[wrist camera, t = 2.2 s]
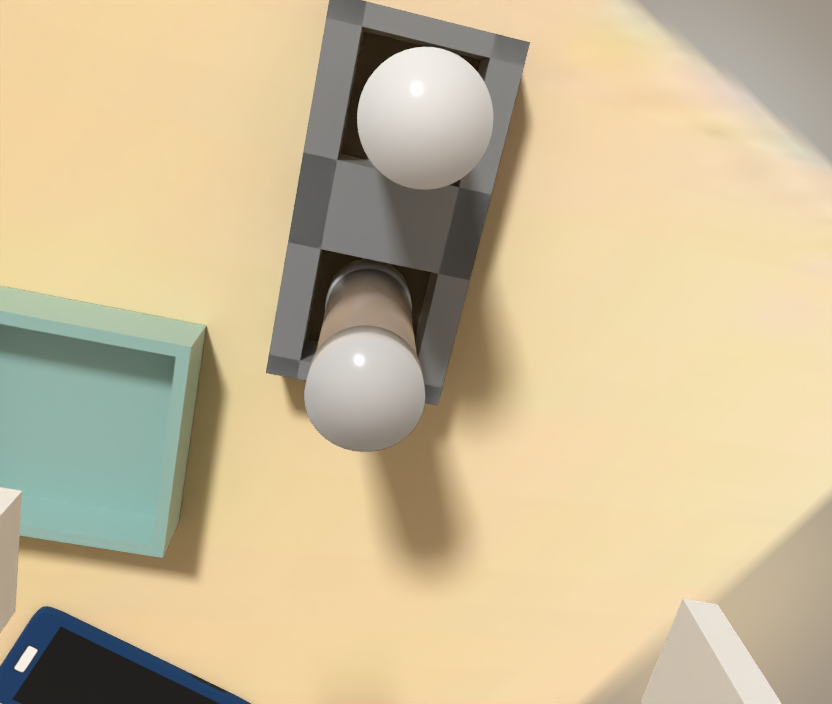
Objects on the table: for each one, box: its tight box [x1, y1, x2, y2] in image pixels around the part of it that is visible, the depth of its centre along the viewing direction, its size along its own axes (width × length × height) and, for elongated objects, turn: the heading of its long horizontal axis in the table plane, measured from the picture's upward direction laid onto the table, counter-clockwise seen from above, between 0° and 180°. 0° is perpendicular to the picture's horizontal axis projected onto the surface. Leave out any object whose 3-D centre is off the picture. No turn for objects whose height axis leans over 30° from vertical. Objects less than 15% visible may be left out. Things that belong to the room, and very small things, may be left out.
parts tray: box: [0, 286, 206, 558], centre depth 36 cm, size 11×11×3 cm
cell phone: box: [0, 606, 250, 704], centre depth 44 cm, size 7×14×1 cm, turn 55°
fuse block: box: [266, 0, 530, 405], centre depth 33 cm, size 16×8×3 cm, turn 167°
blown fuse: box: [304, 259, 425, 452], centre depth 31 cm, size 4×4×12 cm
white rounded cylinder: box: [357, 47, 493, 190], centre depth 28 cm, size 4×4×12 cm
